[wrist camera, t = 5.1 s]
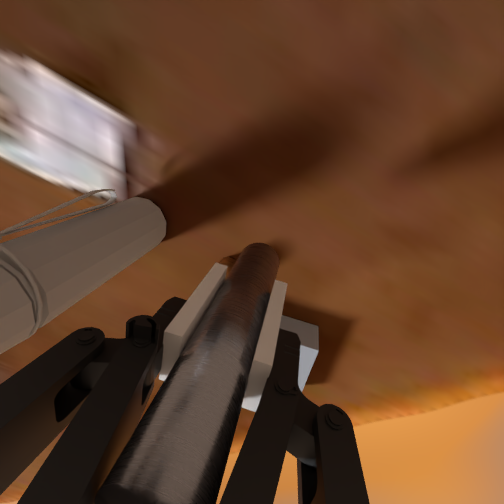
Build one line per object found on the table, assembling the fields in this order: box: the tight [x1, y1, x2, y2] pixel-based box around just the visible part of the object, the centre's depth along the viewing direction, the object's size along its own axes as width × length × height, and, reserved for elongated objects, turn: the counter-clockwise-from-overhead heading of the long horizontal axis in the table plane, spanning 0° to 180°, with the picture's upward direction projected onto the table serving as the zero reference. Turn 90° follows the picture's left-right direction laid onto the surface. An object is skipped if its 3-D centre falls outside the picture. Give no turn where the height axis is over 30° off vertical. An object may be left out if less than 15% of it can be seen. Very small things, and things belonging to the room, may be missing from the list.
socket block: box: [279, 315, 319, 392], centre depth 41 cm, size 12×12×5 cm
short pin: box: [219, 257, 237, 279], centre depth 36 cm, size 3×3×7 cm
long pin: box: [94, 243, 279, 504], centre depth 14 cm, size 3×3×16 cm
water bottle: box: [0, 189, 166, 354], centre depth 28 cm, size 9×8×25 cm
